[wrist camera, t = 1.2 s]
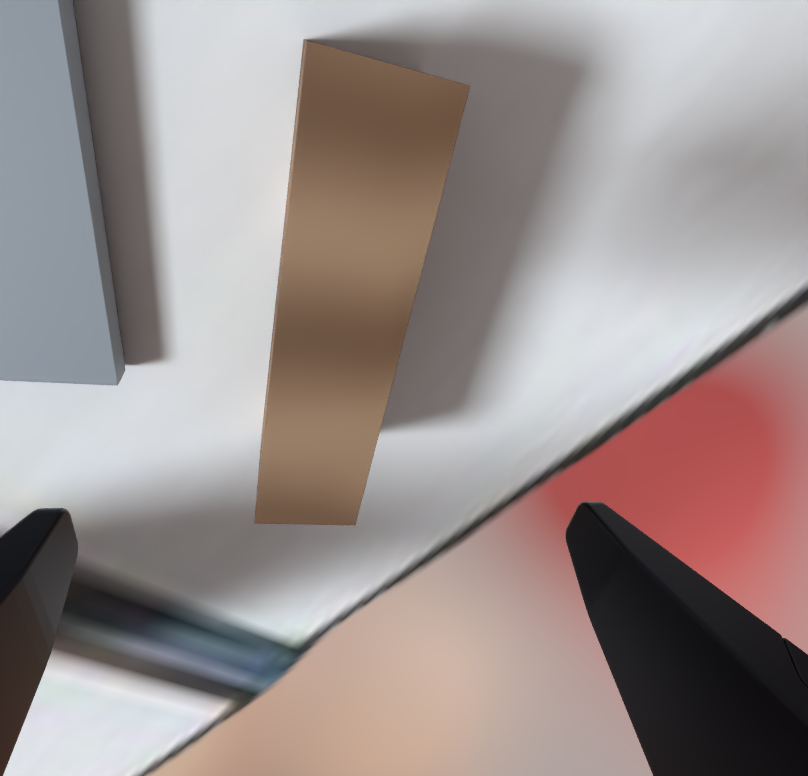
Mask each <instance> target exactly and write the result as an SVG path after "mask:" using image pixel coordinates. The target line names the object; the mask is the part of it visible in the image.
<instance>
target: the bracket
mask: <svg viewBox="0 0 808 776" xmlns="http://www.w3.org/2000/svg"><path fill="white" fill-rule="evenodd" d="M124 372H125V364H124V357H123V350H122V343H121V336H120V329H119V322H118V315H117V308H116V301H115V294H114V287H113V280H112V273H111V266H110V259H109V252H108V245H107V238H106V231H105V224H104V217H103V210H102V203H101V196H100V189H99V182H98V175H97V168H96V161H95V154H94V147H93V140H92V133H91V126H90V119H89V112H88V105H87V98H86V91H85V84H84V77H83V70H82V63H81V56H80V49H79V42H78V35H77V28H76V21H75V14H74V7H73V0H0V380H5V381H28V382H51V383H73V384H96V385H118V384H119V382H120V380H121V378H122V376H123V374H124Z"/></svg>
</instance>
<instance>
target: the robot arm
mask: <svg viewBox="0 0 808 776" xmlns="http://www.w3.org/2000/svg"><path fill="white" fill-rule="evenodd" d="M566 542H567V546H568V549H569V552H570V556H571V559H572V563H573V566H574V569H575V573H576V576H577V579H578V583H579V586H580V590H581V593H582V596H583V600H584V603H585V606H586V609H587V611H588V615H589V618H590V620H591V623H592V626H593V628H594V631H595V633H596V636H597V638H598V641H599V643H600V645H601V648H602V650H603V653H604V655H605V658H606V660H607V663H608V665H609V667H610V670H611V672H612V675H613V678H614V679H615V682H616V685H617V687H618V690H619V692H620V695H621V697H622V700H623V702H624V705H625V707H626V709H627V712H628V714H629V717H630V719H631V722H632V724H633V727H634V729H635V732H636V734H637V737H638V739H639V742H640V744H641V747H642V749H643V752H644V754H645V756H646V759H647V761H648V764H649V766H650V769H651V771H652V773H653V776H808V655H807V654H806V653H805V652H803V651H802V650H801V649H799V648H798V647H797V646H795V645H794V644H792V643H791V642H790V641H789V640H787V639H785V638H782V636H781V635H780V634H779V633H778V632H776V631H775V630H774V629H772V628H771V627H770V626H768V625H767V624H766V623H764V622H763V621H762V620H760V619H759V618H758V617H756V616H755V615H753V614H752V613H751V612H749V611H748V610H747V609H745V608H744V607H743V606H741V605H740V604H739V603H737V602H736V601H735V600H733V599H732V598H731V597H729V596H728V595H727V594H725V593H724V592H723V591H721V590H720V589H718V588H717V587H716V586H714V585H713V584H712V583H710V582H709V581H708V580H706V579H705V578H704V577H702V576H701V575H700V574H698V573H697V572H696V571H694V570H693V569H692V568H690V567H689V566H687V565H686V564H685V563H683V562H682V561H681V560H679V559H678V558H677V557H675V556H674V555H672V554H671V553H670V552H669V551H667V550H666V549H665V548H663V547H662V546H661V545H659V544H658V543H656V542H655V541H654V540H652V539H651V538H650V537H648V536H647V535H646V534H644V533H643V532H642V531H640V530H639V529H638V528H636V527H635V526H634V525H632V524H631V523H629V522H628V521H627V520H625V519H624V518H623V517H621V516H620V515H619V514H617V513H616V512H615V511H613V510H612V509H611V508H609V507H608V506H607V505H605V504H604V503H601V502H582V503H581V504H579V506H578V507H577V509H576V512H575V513H574V515H573V517H572V519H571V521H570V523H569V525H568V527H567V530H566ZM77 554H78V542H77V538H76V534H75V530H74V527H73V523H72V519H71V516H70V513H69V511H68V510H66V509H63V508H42V509H37V510H35V511H33V512H31V513H30V514H29V515H27V516H26V517H25V518H24V519H22V520H21V521H20V522H19V523H17V524H16V525H15V526H14V527H12V528H11V529H10V530H8V531H7V532H6V533H5V534H3V535H2V536H1V537H0V776H3V774H4V772H5V769H6V766H7V764H8V761H9V759H10V756H11V754H12V751H13V749H14V746H15V744H16V741H17V739H18V736H19V734H20V731H21V729H22V726H23V723H24V721H25V718H26V716H27V713H28V711H29V708H30V706H31V703H32V701H33V698H34V696H35V693H36V691H37V688H38V685H39V683H40V680H41V678H42V675H43V673H44V670H45V668H46V665H47V662H48V659H49V657H50V654H51V651H52V647H53V644H54V640H55V637H56V633H57V629H58V626H59V622H60V618H61V615H62V611H63V607H64V603H65V600H66V596H67V592H68V589H69V585H70V581H71V577H72V574H73V570H74V566H75V563H76V559H77Z"/></svg>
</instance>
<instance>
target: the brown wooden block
mask: <svg viewBox="0 0 808 776" xmlns="http://www.w3.org/2000/svg"><path fill="white" fill-rule="evenodd" d="M469 89H470V86H469V85H465V84H462V83H458V82H455V81H451V80H447V79H444V78H440V77H437V76H433V75H429V74H426V73H422V72H419V71H415V70H411V69H408V68H404V67H401V66H397V65H394V64H390V63H386V62H383V61H379V60H376V59H372V58H368V57H365V56H361V55H358V54H354V53H350V52H347V51H343V50H340V49H336V48H333V47H329V46H325V45H322V44H318V43H315V42H311V41H307V40H304V41H303V50H302V60H301V69H300V79H299V88H298V98H297V107H296V116H295V126H294V135H293V145H292V154H291V163H290V173H289V182H288V192H287V201H286V211H285V220H284V229H283V239H282V248H281V258H280V267H279V276H278V286H277V295H276V305H275V314H274V324H273V333H272V342H271V352H270V361H269V371H268V380H267V389H266V399H265V408H264V418H263V427H262V438H261V450H260V462H259V474H258V486H257V499H256V511H255V523H262V524H312V525H355V524H356V520H357V516H358V512H359V508H360V505H361V501H362V497H363V493H364V489H365V486H366V482H367V478H368V474H369V470H370V466H371V463H372V459H373V455H374V451H375V447H376V444H377V440H378V436H379V432H380V428H381V425H382V421H383V417H384V413H385V409H386V405H387V402H388V398H389V394H390V390H391V386H392V383H393V379H394V375H395V371H396V367H397V364H398V360H399V356H400V352H401V348H402V344H403V341H404V337H405V333H406V329H407V325H408V322H409V318H410V314H411V310H412V306H413V303H414V299H415V295H416V291H417V287H418V283H419V280H420V276H421V272H422V268H423V264H424V261H425V257H426V253H427V249H428V245H429V242H430V238H431V234H432V230H433V226H434V222H435V219H436V215H437V211H438V207H439V203H440V200H441V196H442V192H443V188H444V184H445V180H446V177H447V173H448V169H449V165H450V161H451V158H452V154H453V150H454V146H455V142H456V139H457V135H458V131H459V127H460V123H461V119H462V116H463V112H464V108H465V104H466V100H467V97H468V93H469Z"/></svg>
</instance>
